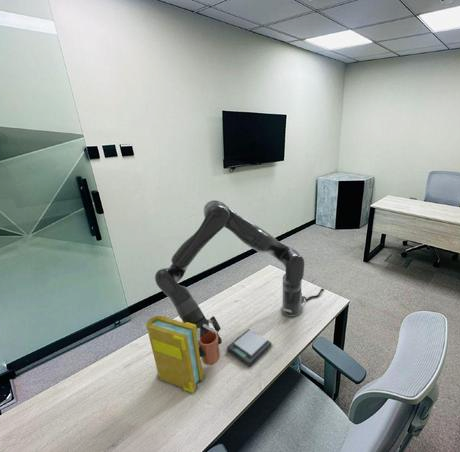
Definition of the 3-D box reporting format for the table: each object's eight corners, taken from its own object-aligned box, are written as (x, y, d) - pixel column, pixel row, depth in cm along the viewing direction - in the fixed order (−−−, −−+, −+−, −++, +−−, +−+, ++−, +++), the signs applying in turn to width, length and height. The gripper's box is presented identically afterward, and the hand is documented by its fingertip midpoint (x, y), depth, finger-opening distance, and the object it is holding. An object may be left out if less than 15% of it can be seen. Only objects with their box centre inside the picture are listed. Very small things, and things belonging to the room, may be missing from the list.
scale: (249, 332, 121) (249, 326, 120) (271, 345, 114) (271, 340, 113) (227, 350, 111) (226, 344, 110) (249, 366, 104) (249, 361, 103)
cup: (212, 347, 108) (210, 328, 104) (223, 356, 104) (221, 336, 100) (198, 358, 103) (195, 339, 99) (209, 368, 99) (206, 348, 95)
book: (204, 376, 100) (195, 324, 90) (192, 393, 94) (182, 339, 85) (167, 363, 105) (156, 313, 96) (154, 378, 99) (141, 326, 90)
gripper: (175, 320, 95) (199, 361, 93) (208, 300, 106) (231, 336, 104) (170, 325, 100) (192, 364, 98) (202, 305, 111) (223, 340, 109)
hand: (212, 349), depth 101 cm, fingers closed on cup, 7 cm apart
